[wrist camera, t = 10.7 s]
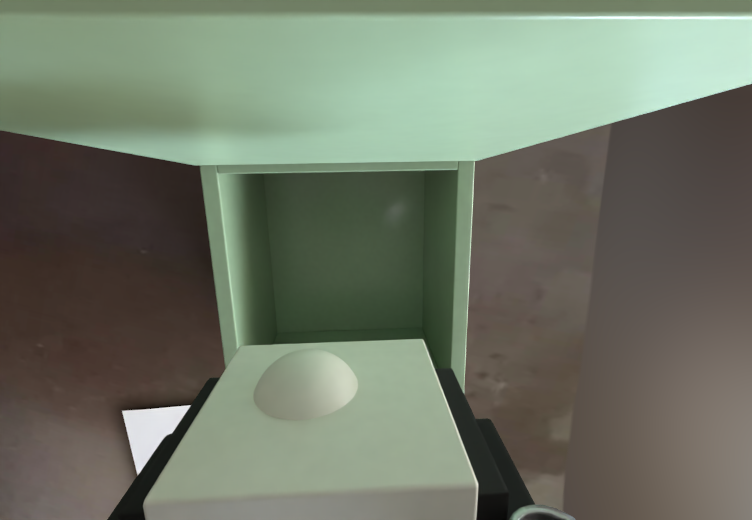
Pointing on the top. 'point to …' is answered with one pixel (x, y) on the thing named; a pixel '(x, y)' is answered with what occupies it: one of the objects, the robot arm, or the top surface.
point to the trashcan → (342, 253)
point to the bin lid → (355, 73)
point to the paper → (150, 430)
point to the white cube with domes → (321, 440)
